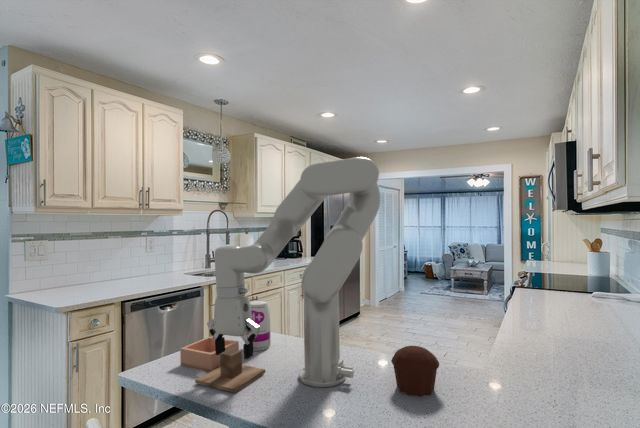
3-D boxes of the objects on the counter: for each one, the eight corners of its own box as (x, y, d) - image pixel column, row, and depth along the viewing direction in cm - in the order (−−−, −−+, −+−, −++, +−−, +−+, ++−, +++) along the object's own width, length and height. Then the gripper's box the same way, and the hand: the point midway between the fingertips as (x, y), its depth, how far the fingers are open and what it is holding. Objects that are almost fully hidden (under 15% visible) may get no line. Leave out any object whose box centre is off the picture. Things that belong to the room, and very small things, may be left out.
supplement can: (265, 352, 120) (264, 305, 120) (241, 351, 121) (240, 304, 122) (273, 343, 128) (273, 300, 128) (251, 342, 129) (250, 299, 129)
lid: (265, 372, 103) (264, 347, 103) (234, 392, 92) (234, 364, 92) (228, 364, 109) (228, 341, 109) (195, 382, 97) (195, 356, 98)
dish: (238, 357, 116) (238, 341, 116) (211, 372, 105) (211, 354, 105) (209, 351, 121) (209, 336, 121) (180, 365, 110) (180, 348, 110)
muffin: (384, 391, 92) (383, 350, 92) (401, 374, 101) (400, 338, 101) (432, 404, 85) (431, 360, 85) (445, 385, 94) (445, 345, 94)
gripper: (265, 290, 100) (268, 354, 100) (216, 288, 108) (219, 347, 108) (247, 296, 93) (251, 365, 93) (196, 293, 101) (200, 356, 101)
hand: (234, 355), depth 100 cm, fingers open, 9 cm apart
